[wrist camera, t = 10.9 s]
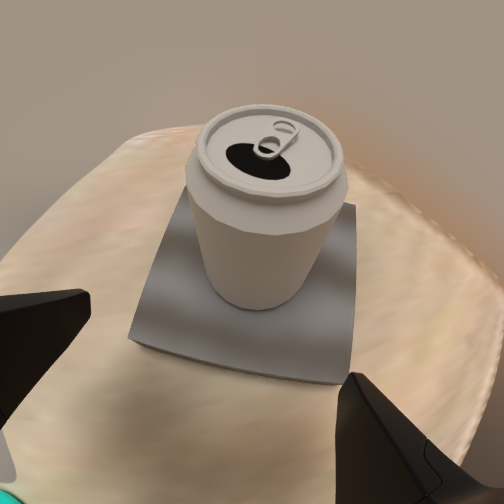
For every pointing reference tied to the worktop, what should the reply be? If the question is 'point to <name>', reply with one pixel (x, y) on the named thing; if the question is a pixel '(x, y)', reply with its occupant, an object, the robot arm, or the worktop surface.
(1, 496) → the turquoise double disc piece
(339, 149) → the can
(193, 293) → the plinth
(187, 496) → the worktop surface
